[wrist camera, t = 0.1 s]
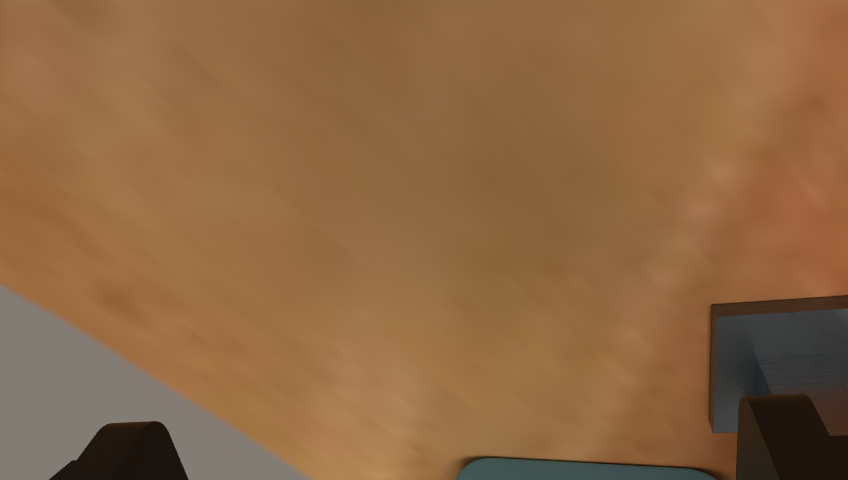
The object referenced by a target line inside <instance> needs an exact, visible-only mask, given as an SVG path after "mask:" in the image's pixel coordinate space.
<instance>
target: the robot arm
mask: <svg viewBox="0 0 848 480" xmlns="http://www.w3.org/2000/svg"><path fill="white" fill-rule="evenodd" d="M50 480H188V477H187V475H186V473H185V470H184V468H183V465H182V463H181V461H180V458H179V456H178V454H177V451H176V449H175V446H174V444H173V442H172V439H171V437H170V434H169V432H168V430H167V428H166V427H165V426H164V425H163V424H162V423H160V422H156V421H150V422H128V423H111V424H107V425H105V426H103V427H102V428H101V429H100V430H99V431H98V432H97V434H96V435H95V436H94V438H93V439H92V440H91V442H90V443H89V444H88V446H87V447H86V448H85V450H84V451H83V453H82V454H81V455H80V456H79V458H78V459H77V460H76V461H75V460H74V461H71V462H70V463H69V464H67V465H66V466H65V467H64V468H62V469H61V470H60V471H59V472H58V473H56V474H55V475H54V476H53V477H52V478H50ZM736 480H848V435H842V436H830V435H829V433H828V431H827V429H826V427H825V425H824V423H823V421H822V419H821V417H820V416H819V414H818V412H817V410H816V408H815V406H814V404H813V402H812V401H811V399H810V398H809V397H808V396H807V395H806V394H786V395H764V396H743V397H741V399H740V402H739V410H738V437H737V464H736Z"/></svg>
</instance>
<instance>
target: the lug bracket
mask: <svg viewBox="0 0 848 480" xmlns="http://www.w3.org/2000/svg"><path fill="white" fill-rule="evenodd" d="M786 394H806V395H807V396H808V397H809V398H810V399H811V401H812V402H813V404H814V406H815V408H816V410H817V412H818V414H819V416H820V417H821V419H822V421H823V423H824V425H825V427H826V429H827V431H828V433H829V435H830V436H842V435H848V296H836V297H822V298H807V299H792V300H777V301H762V302H748V303H733V304H718V305H712V317H711V357H710V397H709V421H710V425H711V428H712V431H713V433H729V432H738V410H739V402H740V399H741V397H743V396H764V395H786Z"/></svg>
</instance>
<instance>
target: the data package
mask: <svg viewBox="0 0 848 480" xmlns="http://www.w3.org/2000/svg"><path fill="white" fill-rule="evenodd" d="M456 480H716V479H715V478H713V477H712V476H710V475H708V474H706V473H704V472H701V471H698V470H694V469H688V468H673V467H654V466H636V465H618V464H599V463H581V462H562V461H544V460H526V459H507V458H483V459H479V460H476V461H473V462H471V463H469V464H468V465H466V466H465V467H464V468H463V469H462V470H461V471H460V473H459V474H458V476H457V478H456Z"/></svg>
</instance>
